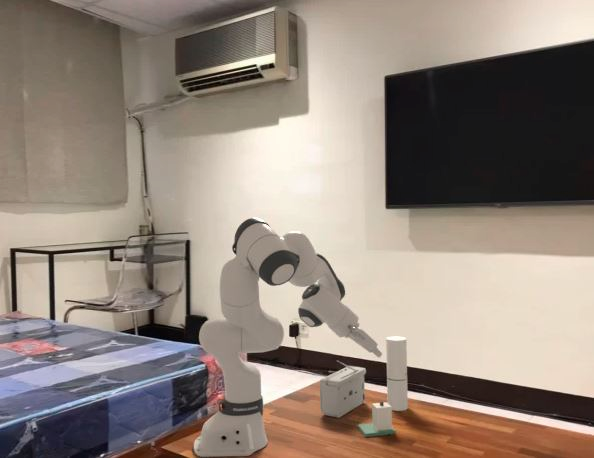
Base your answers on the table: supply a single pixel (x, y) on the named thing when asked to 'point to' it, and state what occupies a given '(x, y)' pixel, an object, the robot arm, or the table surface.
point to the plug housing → (381, 415)
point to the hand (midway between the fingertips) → (375, 352)
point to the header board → (374, 430)
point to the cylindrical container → (397, 373)
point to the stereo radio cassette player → (342, 391)
